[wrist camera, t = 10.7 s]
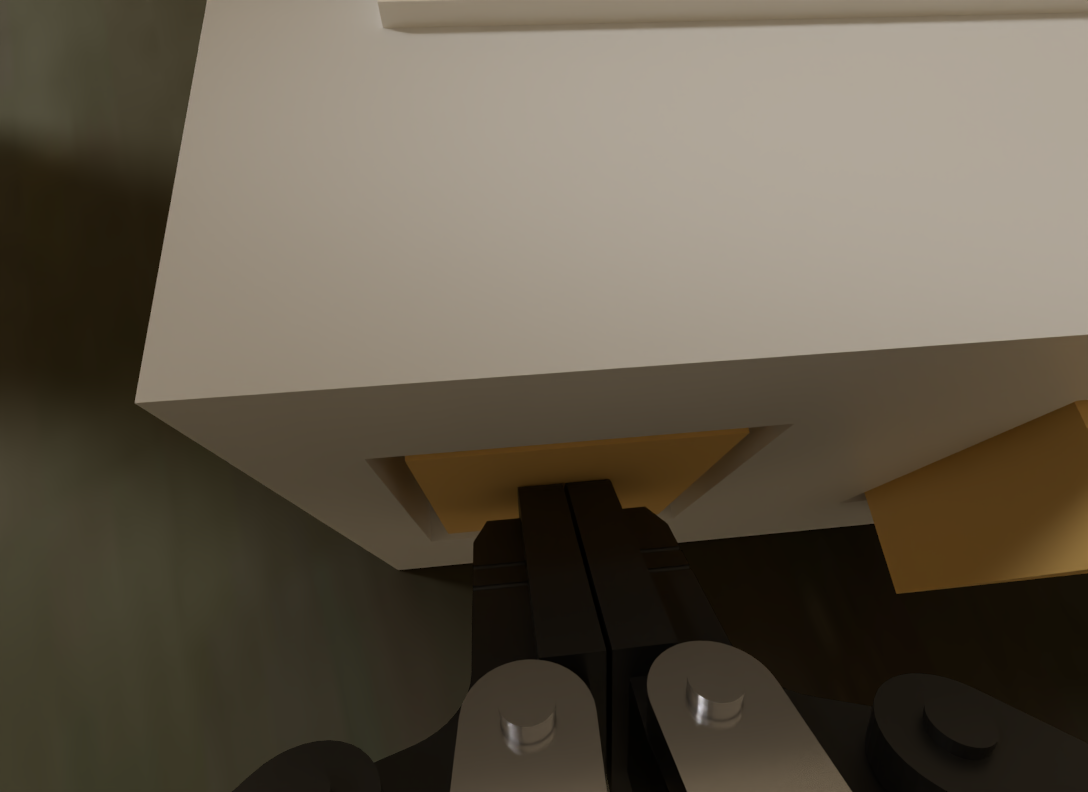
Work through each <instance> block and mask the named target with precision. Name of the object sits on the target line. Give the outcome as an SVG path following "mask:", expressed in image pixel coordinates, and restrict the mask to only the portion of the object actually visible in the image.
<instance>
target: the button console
mask: <svg viewBox="0 0 1088 792" xmlns="http://www.w3.org/2000/svg"><path fill="white" fill-rule="evenodd" d="M1079 400H1088V0H207V4H206V10H205V15H204V21H203V26H202V32H201V37H200V43H199V49H198V54H197V60H196V65H195V71H194V76H193V82H192V87H191V93H190V98H189V104H188V109H187V115H186V120H185V126H184V132H183V137H182V143H181V148H180V154H179V159H178V165H177V170H176V176H175V181H174V187H173V192H172V198H171V203H170V209H169V215H168V220H167V226H166V231H165V237H164V242H163V248H162V253H161V259H160V264H159V270H158V275H157V281H156V287H155V292H154V298H153V303H152V309H151V314H150V320H149V325H148V331H147V336H146V342H145V347H144V353H143V358H142V364H141V370H140V375H139V381H138V386H137V392H136V397H135V404H136V405H138V406H140V407H141V408H143V409H144V410H146V411H148V412H149V413H151V414H152V415H154V416H155V417H157V418H159V419H160V420H162V421H163V422H165V423H166V424H168V425H170V426H171V427H173V428H174V429H176V430H178V431H179V432H181V433H182V434H184V435H185V436H187V437H189V438H190V439H192V440H193V441H195V442H197V443H198V444H200V445H201V446H203V447H204V448H206V449H208V450H209V451H211V452H212V453H214V454H215V455H217V456H219V457H220V458H222V459H223V460H225V461H227V462H228V463H230V464H231V465H233V466H234V467H236V468H238V469H239V470H241V471H242V472H244V473H246V474H247V475H249V476H250V477H252V478H253V479H255V480H257V481H258V482H260V483H261V484H263V485H264V486H266V487H268V488H269V489H271V490H272V491H274V492H276V493H277V494H279V495H280V496H282V497H283V498H285V499H287V500H288V501H290V502H291V503H293V504H295V505H296V506H298V507H299V508H301V509H302V510H304V511H306V512H307V513H309V514H310V515H312V516H313V517H315V518H317V519H318V520H320V521H321V522H323V523H325V524H326V525H328V526H329V527H331V528H332V529H334V530H336V531H337V532H339V533H340V534H342V535H344V536H345V537H347V538H348V539H350V540H351V541H353V542H355V543H356V544H358V545H359V546H361V547H362V548H364V549H366V550H367V551H369V552H370V553H372V554H374V555H375V556H377V557H378V558H380V559H381V560H383V561H385V562H386V563H388V564H389V565H391V566H393V567H394V568H396V569H397V570H406V569H416V568H426V567H436V566H446V565H457V564H467V563H473V542H474V540H475V539H476V537H477V536H478V534H479V533H480V531H474V532H463V533H452V534H448V532H447V531H446V529H445V527H444V526H443V524H442V522H441V521H440V519H439V517H438V516H437V514H436V512H435V511H434V509H433V507H432V505H431V504H430V502H429V500H428V499H427V497H426V495H425V494H424V492H423V490H422V489H421V487H420V485H419V484H418V482H417V480H416V479H415V477H414V475H413V474H412V472H411V470H410V469H409V467H408V465H407V464H406V462H405V456H409V455H421V454H433V453H445V452H457V451H470V450H482V449H494V448H506V447H518V446H530V445H543V444H555V443H567V442H579V441H591V440H604V439H616V438H628V437H640V436H652V435H665V434H677V433H689V432H701V431H713V430H725V429H738V428H749V432H750V433H749V434H748V435H746V436H745V437H744V438H743V439H742V440H741V441H740V442H739V443H738V444H736V445H735V446H734V447H733V448H732V449H731V450H730V451H729V452H727V453H726V454H725V455H724V456H723V457H722V458H721V459H720V460H719V461H717V462H716V463H715V464H714V465H713V466H712V467H711V468H710V469H708V470H707V471H706V472H705V473H704V474H703V475H702V476H701V477H699V478H698V479H697V480H696V481H695V482H694V483H693V484H692V485H691V486H689V487H688V488H687V489H686V490H685V491H684V492H683V493H682V494H680V495H679V496H678V497H677V498H676V499H675V500H674V501H673V502H672V503H670V504H669V505H668V506H667V507H666V508H665V509H664V510H663V511H661V512H660V513H659V514H656V515H657V516H658V517H660V518H661V519H662V520H663V521H665V522H666V523H667V524H668V525H669V527H670V529H671V531H672V533H673V535H674V537H675V539H676V540H677V542H678V543H681V542H692V541H702V540H712V539H722V538H732V537H743V536H753V535H763V534H773V533H784V532H794V531H804V530H814V529H824V528H835V527H845V526H855V525H865V524H874V522H873V518H872V515H871V512H870V509H869V506H868V503H867V499H866V496H865V493H864V492H866V491H869V490H871V489H873V488H876V487H878V486H880V485H883V484H885V483H887V482H889V481H892V480H894V479H896V478H899V477H901V476H903V475H906V474H908V473H910V472H913V471H915V470H917V469H920V468H922V467H924V466H927V465H929V464H931V463H934V462H936V461H938V460H941V459H943V458H945V457H948V456H950V455H952V454H954V453H957V452H959V451H961V450H964V449H966V448H968V447H971V446H973V445H975V444H978V443H980V442H982V441H985V440H987V439H989V438H992V437H994V436H996V435H999V434H1001V433H1003V432H1006V431H1008V430H1010V429H1013V428H1015V427H1017V426H1019V425H1022V424H1024V423H1026V422H1029V421H1031V420H1033V419H1036V418H1038V417H1040V416H1043V415H1045V414H1047V413H1050V412H1052V411H1054V410H1057V409H1059V408H1061V407H1064V406H1066V405H1068V404H1071V403H1073V402H1075V401H1079Z"/></svg>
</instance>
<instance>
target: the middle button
mask: <svg viewBox="0 0 1088 792" xmlns="http://www.w3.org/2000/svg"><path fill="white" fill-rule="evenodd" d="M864 493H865V496H866V499H867V503H868V506H869V509H870V512H871V515H872V518H873V522H874V525H875V528H876V531H877V534H878V537H879V541H880V544H881V547H882V550H883V553H884V556H885V560H886V563H887V566H888V569H889V572H890V575H891V578H892V582H893V585H894V588H895V591H896V594H901V593H911V592H920V591H929V590H938V589H947V588H957V587H966V586H975V585H984V584H993V583H1002V582H1012V581H1021V580H1030V579H1039V578H1048V577H1058V576H1067V575H1076V574H1085V573H1088V400H1079V401H1075V402H1073V403H1071V404H1068V405H1066V406H1064V407H1061V408H1059V409H1057V410H1054V411H1052V412H1050V413H1047V414H1045V415H1043V416H1040V417H1038V418H1036V419H1033V420H1031V421H1029V422H1026V423H1024V424H1022V425H1019V426H1017V427H1015V428H1013V429H1010V430H1008V431H1006V432H1003V433H1001V434H999V435H996V436H994V437H992V438H989V439H987V440H985V441H982V442H980V443H978V444H975V445H973V446H971V447H968V448H966V449H964V450H961V451H959V452H957V453H954V454H952V455H950V456H948V457H945V458H943V459H941V460H938V461H936V462H934V463H931V464H929V465H927V466H924V467H922V468H920V469H917V470H915V471H913V472H910V473H908V474H906V475H903V476H901V477H899V478H896V479H894V480H892V481H889V482H887V483H885V484H883V485H880V486H878V487H876V488H873V489H871V490H869V491H866V492H864Z"/></svg>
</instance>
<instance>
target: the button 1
mask: <svg viewBox="0 0 1088 792" xmlns="http://www.w3.org/2000/svg"><path fill="white" fill-rule="evenodd" d="M749 433H750V432H749V428H738V429H725V430H713V431H701V432H689V433H677V434H665V435H652V436H640V437H628V438H616V439H604V440H591V441H579V442H567V443H555V444H543V445H530V446H518V447H506V448H494V449H482V450H470V451H457V452H445V453H433V454H421V455H409V456H405V462H406V464H407V465H408V467H409V469H410V470H411V472H412V474H413V475H414V477H415V479H416V480H417V482H418V484H419V485H420V487H421V489H422V490H423V492H424V494H425V495H426V497H427V499H428V500H429V502H430V504H431V505H432V507H433V509H434V511H435V512H436V514H437V516H438V517H439V519H440V521H441V522H442V524H443V526H444V527H445V529H446V531H447V532H448V534H452V533H463V532H474V531H481V530H482V528H483V526H484V525H485V523H486V522H487V521H493V520H504V519H515V518H519V509H518V487H525V486H537V485H548V484H560V483H562V485H563V488H564V486H565V483H570V482H582V481H593V480H605V479H610V481H611V482H612V485H613V487H614V489H615V492H616V494H617V497H618V499H619V501H620V504H621V506H622V509H623V508H634V507H646V508H648V509H649V510H650V511H652V512H653V513H654V514H659V513H660V512H661V511H663V510H664V509H665V508H666V507H667V506H668V505H669V504H670V503H672V502H673V501H674V500H675V499H676V498H677V497H678V496H679V495H680V494H682V493H683V492H684V491H685V490H686V489H687V488H688V487H689V486H691V485H692V484H693V483H694V482H695V481H696V480H697V479H698V478H699V477H701V476H702V475H703V474H704V473H705V472H706V471H707V470H708V469H710V468H711V467H712V466H713V465H714V464H715V463H716V462H717V461H719V460H720V459H721V458H722V457H723V456H724V455H725V454H726V453H727V452H729V451H730V450H731V449H732V448H733V447H734V446H735V445H736V444H738V443H739V442H740V441H741V440H742V439H743V438H744V437H745V436H746V435H748V434H749Z"/></svg>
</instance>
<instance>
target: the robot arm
mask: <svg viewBox="0 0 1088 792" xmlns="http://www.w3.org/2000/svg"><path fill="white" fill-rule="evenodd" d="M518 509H519V518H515V519H504V520H493V521H487V522H486V523H485V525H484V526H483V528H482V530H481V531H480V533H479V534H478V536H477V537H476V539H475V540H474V542H473V606H472V675H471V684H470V687H469V690H468V694H467V695H466V697H465V699H464V702H463V704H462V705H461V707H460V708H459V710H458V711H457V713H456V714H455V715H454V716H453V717H452V719H451V720H450V721H449V722H448V723H447V724H446V725H445V726H443V727H442V728H441V729H440V730H439V731H438V732H436V733H435V734H433V735H432V736H430V737H429V738H427V739H426V740H424V741H422V742H420V743H418V744H416V745H414V746H411V747H409V748H407V749H405V750H402V751H400V752H398V753H395V754H393V755H391V756H388V757H386V758H384V759H382V760H379V761H377V762H375V763H373V761H372V760H371V759H370V757H369V756H368V755H367V754H366V753H364V752H363V751H362V750H361V749H359V748H357V747H355V746H353V745H352V744H348V743H345V742H341V741H331V740H327V741H316V742H311V743H307V744H303V745H300V746H297V747H294V748H292V749H289V750H287V751H285V752H283V753H281V754H279V755H277V756H276V757H274V758H273V759H271V760H269V761H268V762H266V763H265V764H263V765H262V766H261V767H260V768H259V769H257V770H256V771H255V772H254V773H252V774H251V775H250V776H249V777H248V778H247V779H246V780H245V781H243V782H242V783H241V784H240V785H239V786H238V787H237V788H236V789H235V790H234V791H232V792H607V788H606V774H607V779H608V784H609V789H610V792H1088V743H1086V742H1084V741H1082V740H1080V739H1078V738H1076V737H1074V736H1071V735H1069V734H1067V733H1065V732H1063V731H1061V730H1059V729H1057V728H1055V727H1053V726H1051V725H1049V724H1047V723H1045V722H1043V721H1041V720H1039V719H1037V718H1035V717H1032V716H1030V715H1028V714H1026V713H1024V712H1022V711H1020V710H1018V709H1016V708H1014V707H1012V706H1010V705H1008V704H1006V703H1004V702H1002V701H1000V700H998V699H996V698H993V697H991V696H989V695H987V694H985V693H983V692H981V691H979V690H977V689H975V688H973V687H970V686H968V685H966V684H963V683H961V682H958V681H955V680H952V679H949V678H946V677H941V676H937V675H932V674H923V673H909V674H903V675H898V676H895V677H893V678H890V679H889V680H887V681H886V682H884V683H883V684H882V685H881V686H880V687H879V689H878V690H877V692H876V695H875V697H874V702H873V706H867V705H861V704H855V703H849V702H843V701H837V700H831V699H825V698H819V697H813V696H809V695H804V694H800V693H797V692H794V691H791V690H788V689H786V688H783V687H781V686H780V684H779V683H778V681H777V680H776V678H775V677H774V676H773V675H772V673H771V672H770V671H769V670H768V669H767V668H766V667H765V666H764V665H763V664H762V663H761V662H759V661H758V660H756V659H755V658H754V657H752V656H751V655H749V654H747V653H745V652H744V651H742V650H740V649H737V648H735V647H733V646H732V645H731V643H730V641H729V639H728V637H727V635H726V633H725V631H724V630H723V628H722V626H721V624H720V622H719V620H718V618H717V616H716V614H715V612H714V611H713V609H712V607H711V605H710V603H709V601H708V599H707V597H706V595H705V594H704V592H703V590H702V588H701V586H700V584H699V582H698V580H697V578H696V576H695V575H694V573H693V571H692V569H690V568H689V563H688V561H687V559H686V558H685V556H684V554H683V552H682V550H680V548H679V544H678V542H677V540H676V539H675V537H674V535H673V533H672V531H671V529H670V527H669V525H668V524H667V523H666V522H665V521H663V520H662V519H661V518H660V517H658V516H657V515H656V514H654V513H653V512H652V511H650V510H649V509H648V508H646V507H634V508H623V509H622V506H621V504H620V501H619V499H618V497H617V494H616V492H615V489H614V487H613V485H612V482H611V481H610V479H605V480H593V481H582V482H570V483H565V486H564V488H563V485H562V483H560V484H548V485H537V486H525V487H518Z"/></svg>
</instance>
